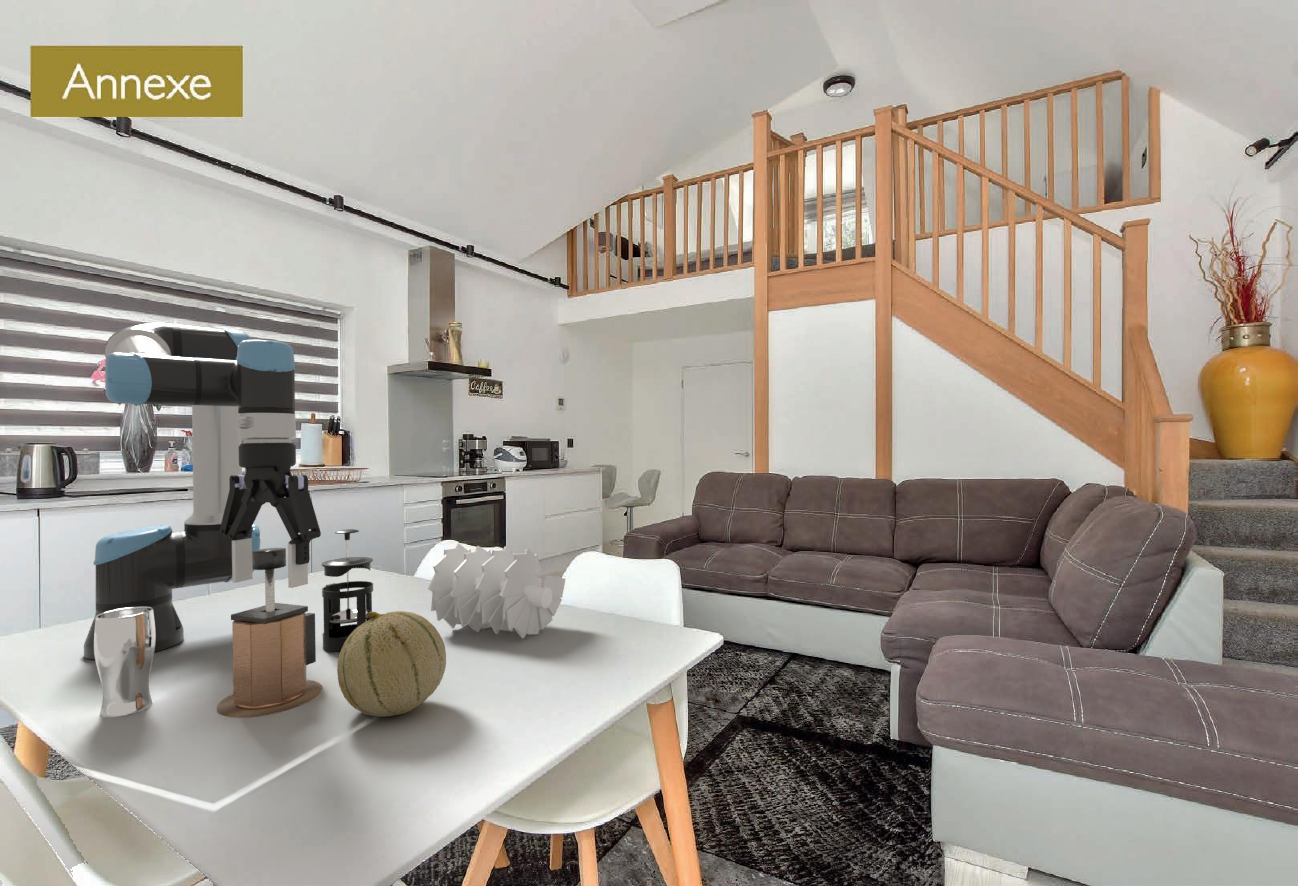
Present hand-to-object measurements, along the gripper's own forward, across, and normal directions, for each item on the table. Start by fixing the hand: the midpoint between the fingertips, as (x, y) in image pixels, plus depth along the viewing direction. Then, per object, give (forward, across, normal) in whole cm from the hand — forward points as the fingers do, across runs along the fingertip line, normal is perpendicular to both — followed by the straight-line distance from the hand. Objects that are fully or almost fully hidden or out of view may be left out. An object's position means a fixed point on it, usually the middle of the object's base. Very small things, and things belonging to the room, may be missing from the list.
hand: (269, 583), depth 94 cm
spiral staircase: (+18, +13, +41) cm, 47 cm away
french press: (+18, -9, +23) cm, 31 cm away
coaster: (+18, 0, 0) cm, 18 cm away
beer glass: (+18, -17, -10) cm, 27 cm away
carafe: (+18, 0, +1) cm, 18 cm away
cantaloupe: (+18, +21, +3) cm, 28 cm away
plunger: (+16, 0, 0) cm, 16 cm away
